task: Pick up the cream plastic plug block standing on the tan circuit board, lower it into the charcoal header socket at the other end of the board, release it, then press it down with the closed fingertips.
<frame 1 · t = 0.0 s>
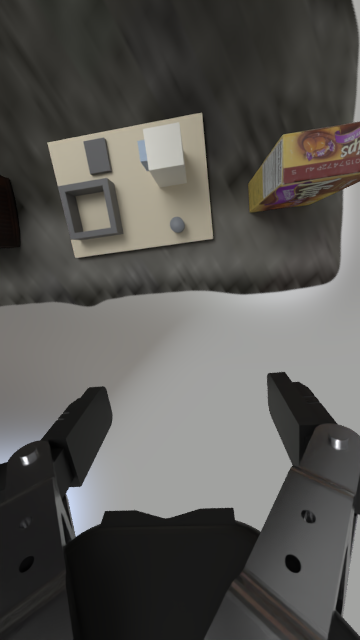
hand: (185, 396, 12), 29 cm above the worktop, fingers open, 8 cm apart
manual coffee grinder: (2, 215, 39), on the worktop
board: (134, 193, 36), on the worktop
candy box: (278, 193, 35), on the worktop
plug: (171, 169, 34), point 1 cm above the worktop, touching board
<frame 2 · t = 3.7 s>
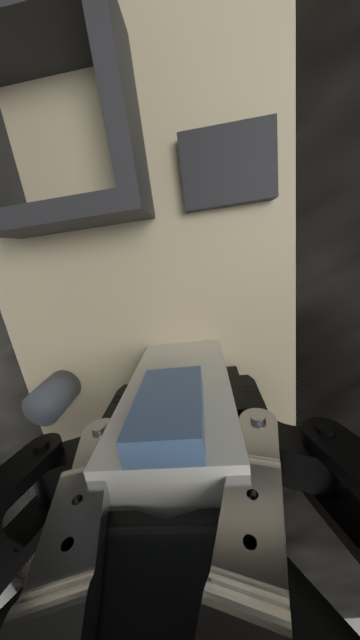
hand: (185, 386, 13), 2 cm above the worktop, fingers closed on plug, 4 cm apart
board: (139, 272, 13), on the worktop
plug: (187, 374, 14), point 1 cm above the worktop, touching board, gripper
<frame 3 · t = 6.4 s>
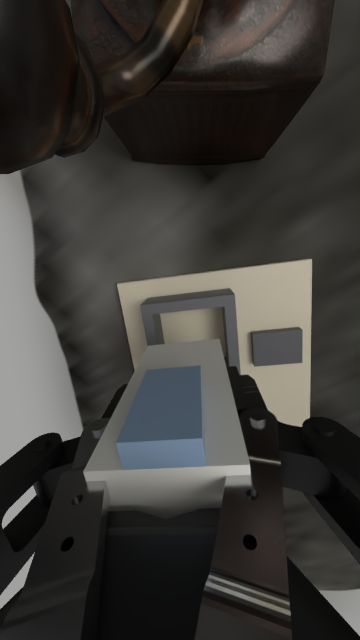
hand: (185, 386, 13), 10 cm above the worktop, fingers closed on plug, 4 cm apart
manual coffee grinder: (195, 123, 18), on the worktop
board: (220, 383, 24), on the worktop
plug: (187, 374, 14), point 9 cm above the worktop, touching gripper
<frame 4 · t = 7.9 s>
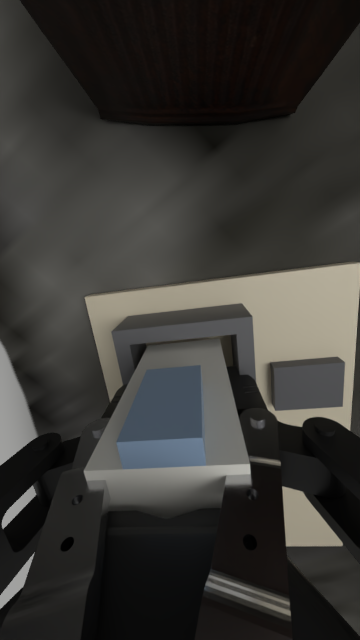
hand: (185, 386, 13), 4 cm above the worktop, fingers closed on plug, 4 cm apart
manual coffee grinder: (192, 63, 12), on the worktop
board: (227, 426, 18), on the worktop
plug: (187, 374, 14), point 3 cm above the worktop, touching gripper
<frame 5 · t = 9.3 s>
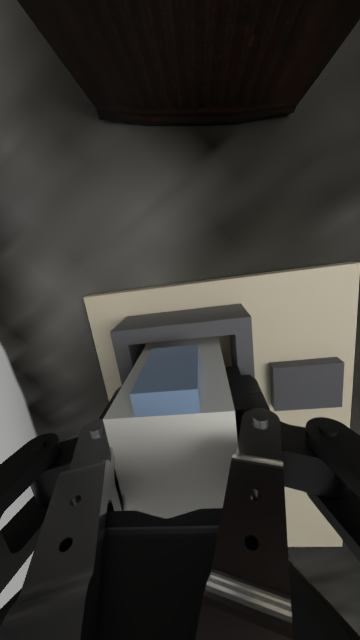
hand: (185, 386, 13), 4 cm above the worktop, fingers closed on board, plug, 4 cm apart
manual coffee grinder: (190, 63, 12), on the worktop
board: (226, 427, 18), on the worktop
plug: (187, 361, 15), point 1 cm above the worktop, touching gripper
when the fingers open (4 cm above the worktop, at t = 9.9 s): plug stays where it is, resting on board.
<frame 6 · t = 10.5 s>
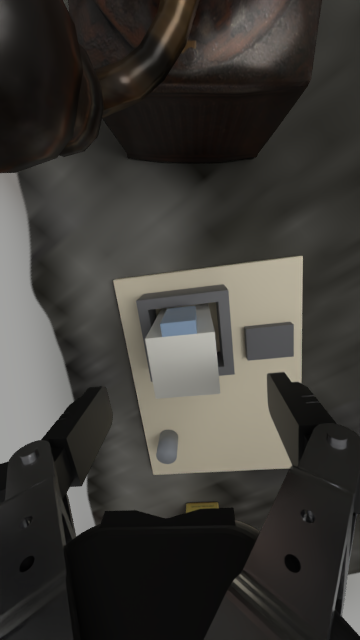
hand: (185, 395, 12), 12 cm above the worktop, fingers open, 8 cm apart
manual coffee grinder: (189, 122, 19), on the worktop
board: (215, 377, 24), on the worktop
plug: (187, 325, 22), point 1 cm above the worktop, touching board
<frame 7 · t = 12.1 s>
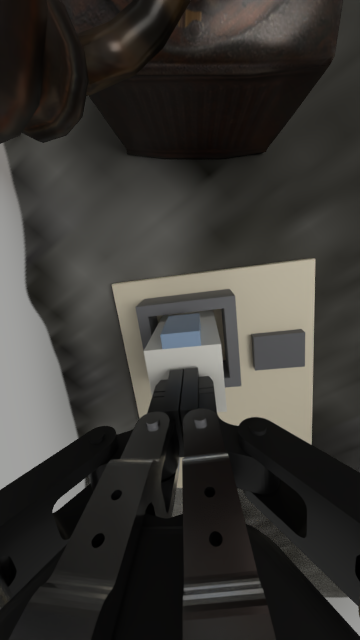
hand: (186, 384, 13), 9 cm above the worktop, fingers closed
manual coffee grinder: (193, 115, 17), on the worktop
board: (219, 387, 23), on the worktop
plug: (190, 332, 21), point 1 cm above the worktop, touching board, gripper
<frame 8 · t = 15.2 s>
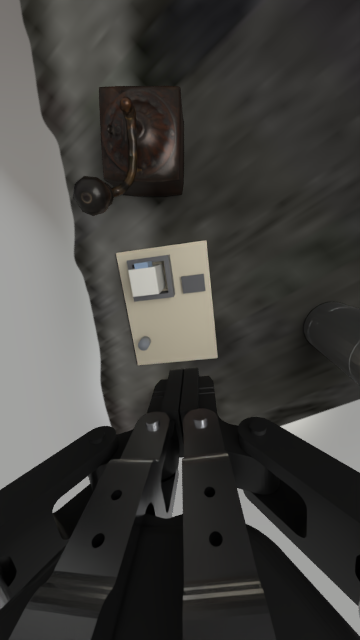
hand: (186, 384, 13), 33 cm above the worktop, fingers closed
manual coffee grinder: (151, 178, 40), on the worktop
board: (169, 306, 46), on the worktop
plug: (153, 276, 43), point 1 cm above the worktop, touching board
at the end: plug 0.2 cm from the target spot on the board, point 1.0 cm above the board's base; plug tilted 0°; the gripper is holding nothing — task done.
